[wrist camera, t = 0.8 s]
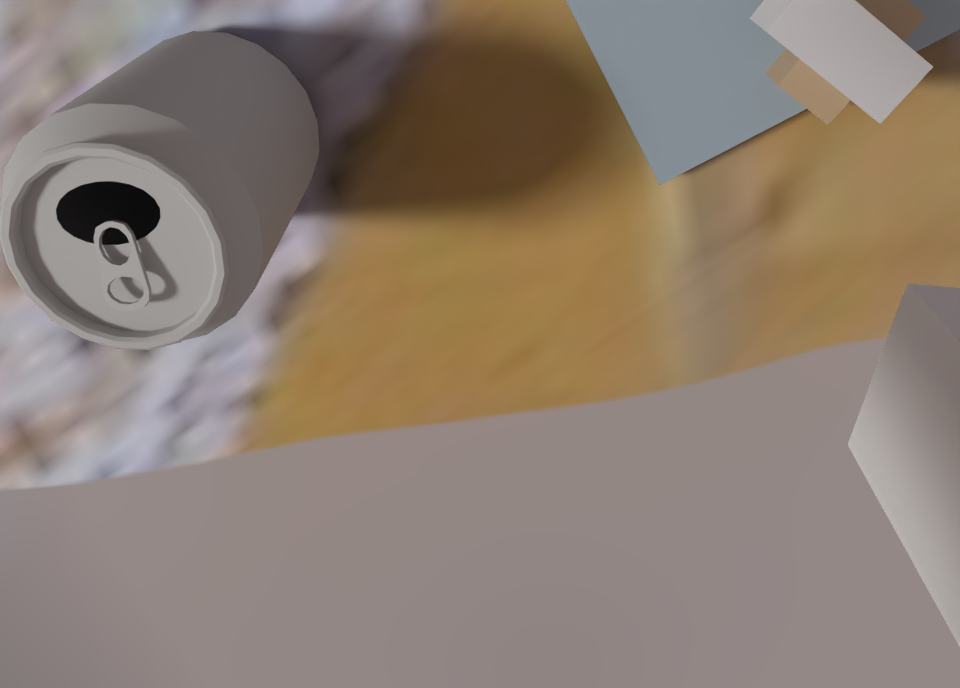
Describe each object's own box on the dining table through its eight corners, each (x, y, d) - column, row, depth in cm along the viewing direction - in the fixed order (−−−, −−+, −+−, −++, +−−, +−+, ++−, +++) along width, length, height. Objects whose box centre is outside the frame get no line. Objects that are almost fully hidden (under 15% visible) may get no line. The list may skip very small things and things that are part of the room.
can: (300, 13, 33) (205, 104, 22) (341, 206, 36) (278, 360, 26) (102, 39, 33) (-79, 139, 23) (163, 226, 37) (31, 384, 27)
